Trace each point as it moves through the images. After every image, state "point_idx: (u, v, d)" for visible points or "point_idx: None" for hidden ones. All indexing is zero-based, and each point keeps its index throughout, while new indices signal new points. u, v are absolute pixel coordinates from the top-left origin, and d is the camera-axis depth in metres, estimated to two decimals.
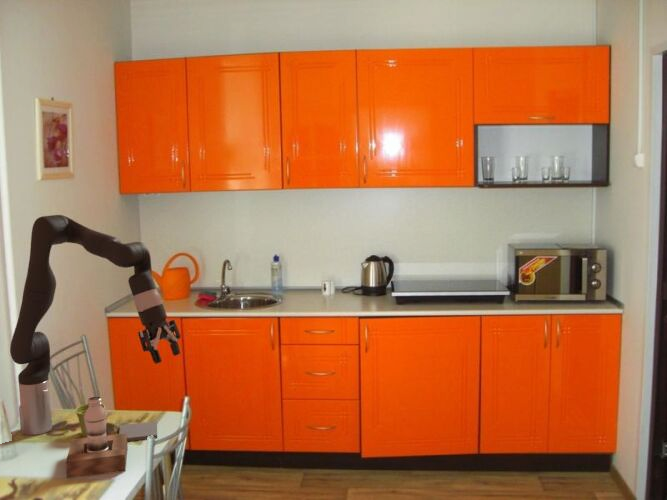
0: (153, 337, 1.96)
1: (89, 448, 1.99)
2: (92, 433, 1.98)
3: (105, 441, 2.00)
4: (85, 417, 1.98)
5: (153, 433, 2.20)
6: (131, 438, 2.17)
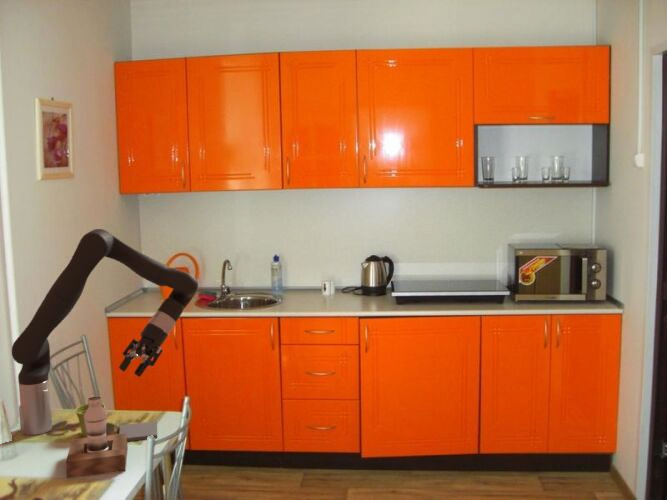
0: (148, 353, 2.09)
1: (89, 448, 1.99)
2: (92, 433, 1.98)
3: (105, 441, 2.00)
4: (85, 417, 1.98)
5: (153, 433, 2.20)
6: (131, 438, 2.17)
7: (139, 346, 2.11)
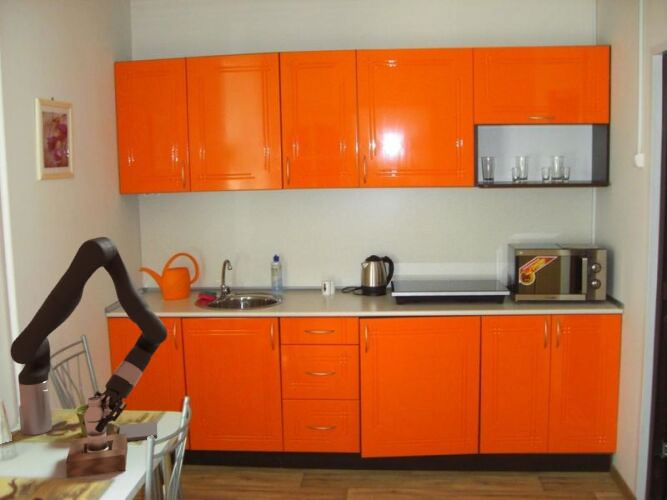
0: (111, 407, 2.01)
1: (89, 448, 1.99)
2: (92, 433, 1.98)
3: (105, 441, 2.00)
4: (85, 417, 1.98)
5: (153, 433, 2.20)
6: (131, 438, 2.17)
7: (104, 398, 2.03)
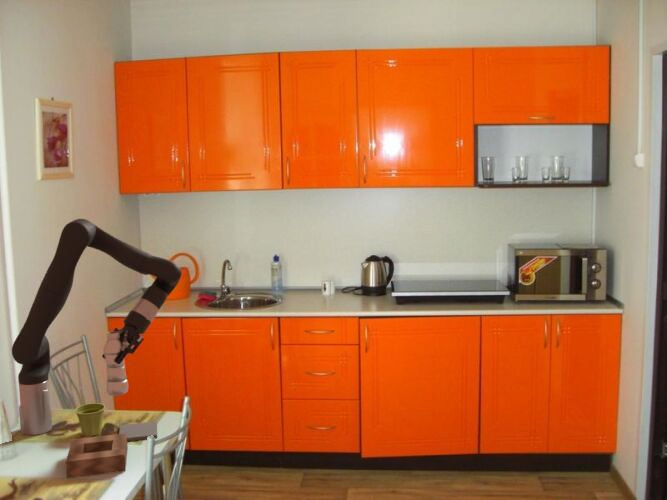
0: (129, 341, 2.10)
1: (109, 380, 2.08)
2: (111, 365, 2.07)
3: (124, 373, 2.09)
4: (104, 350, 2.07)
5: (153, 433, 2.20)
6: (131, 438, 2.17)
7: (122, 333, 2.12)
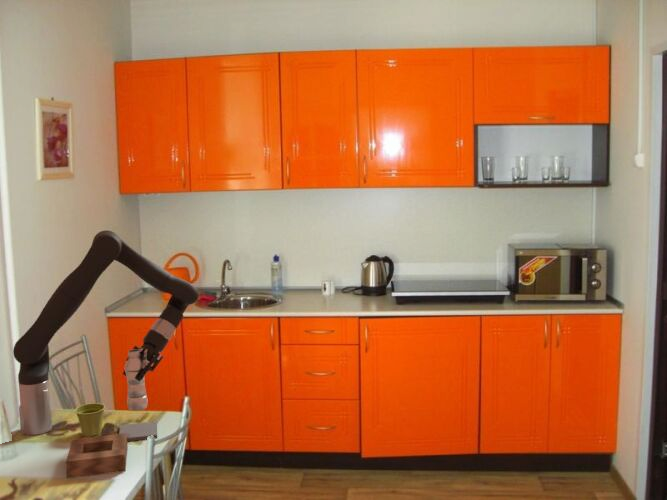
0: (149, 359, 2.22)
1: (129, 395, 2.20)
2: (132, 382, 2.19)
3: (144, 389, 2.21)
4: (126, 367, 2.19)
5: (153, 433, 2.20)
6: (131, 438, 2.17)
7: (142, 351, 2.23)
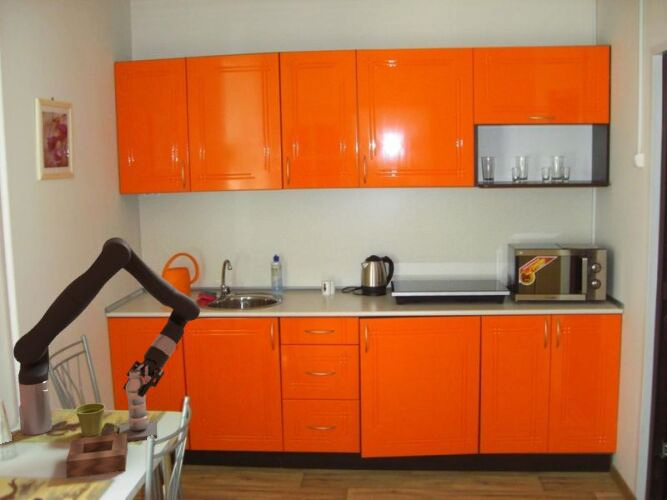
0: (150, 375, 2.22)
1: (131, 416, 2.21)
2: (133, 402, 2.20)
3: (145, 410, 2.22)
4: (127, 388, 2.20)
5: (153, 433, 2.20)
6: (131, 438, 2.17)
7: (142, 367, 2.24)
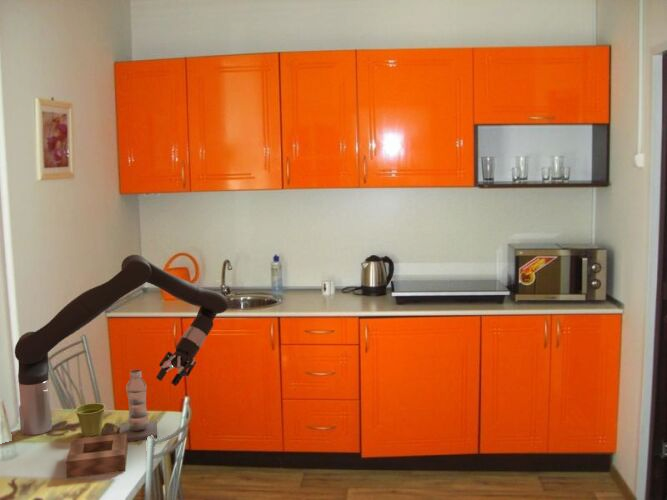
0: (182, 365, 2.32)
1: (131, 416, 2.21)
2: (134, 402, 2.20)
3: (145, 410, 2.22)
4: (127, 388, 2.20)
5: (153, 433, 2.20)
6: (131, 438, 2.17)
7: (174, 358, 2.34)
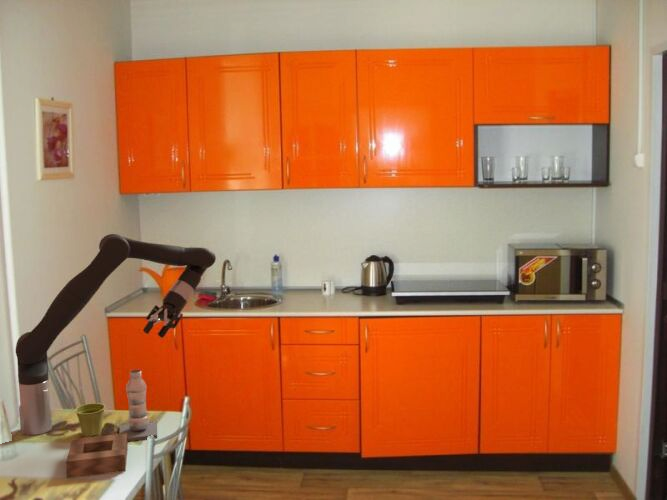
0: (169, 318, 2.31)
1: (131, 416, 2.21)
2: (133, 402, 2.20)
3: (145, 410, 2.22)
4: (127, 388, 2.20)
5: (153, 433, 2.20)
6: (131, 438, 2.17)
7: (161, 311, 2.33)
